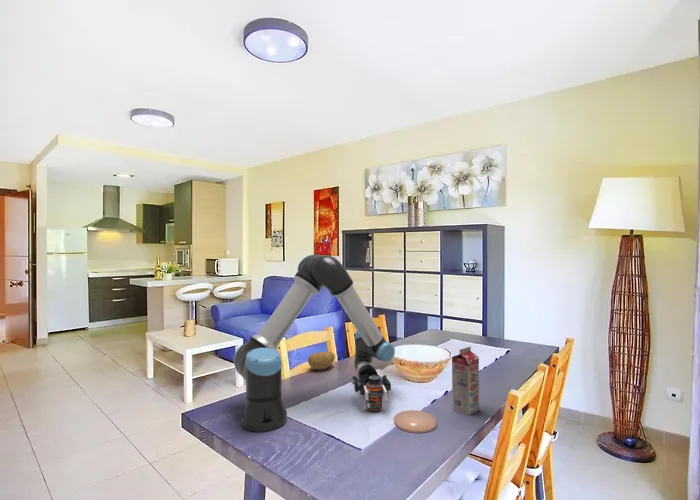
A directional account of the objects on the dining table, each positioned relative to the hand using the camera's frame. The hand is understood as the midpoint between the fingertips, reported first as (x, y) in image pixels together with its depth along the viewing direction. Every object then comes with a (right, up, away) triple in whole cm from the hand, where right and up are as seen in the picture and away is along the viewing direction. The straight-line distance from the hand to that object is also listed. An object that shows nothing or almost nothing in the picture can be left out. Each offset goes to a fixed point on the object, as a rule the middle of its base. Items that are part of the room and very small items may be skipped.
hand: (376, 396), depth 131 cm
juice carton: (+32, -7, +5) cm, 33 cm away
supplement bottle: (0, -7, +5) cm, 8 cm away
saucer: (+13, -7, -5) cm, 15 cm away
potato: (-23, -7, +51) cm, 56 cm away
